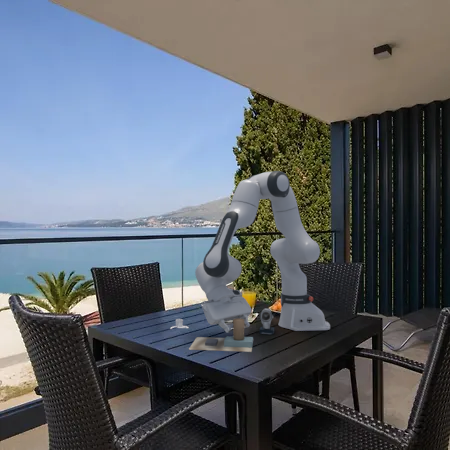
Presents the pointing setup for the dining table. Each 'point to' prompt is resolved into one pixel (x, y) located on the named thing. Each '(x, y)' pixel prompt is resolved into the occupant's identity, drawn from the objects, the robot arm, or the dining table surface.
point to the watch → (266, 322)
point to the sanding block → (238, 336)
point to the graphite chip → (211, 342)
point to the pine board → (200, 345)
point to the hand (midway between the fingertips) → (238, 329)
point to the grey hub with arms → (179, 324)
